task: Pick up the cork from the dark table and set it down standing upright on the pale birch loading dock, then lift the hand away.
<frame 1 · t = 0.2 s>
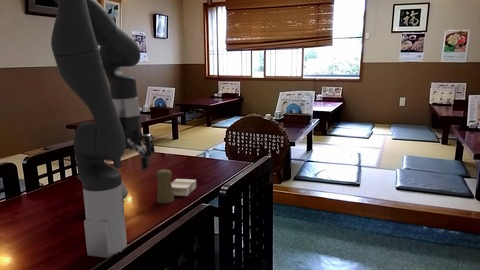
hand: (131, 168, 106), 17 cm above the table, tool pointing down, fingers open, 8 cm apart
loading dock: (181, 190, 137), on the table
cork: (165, 200, 128), on the table
coffee pot: (103, 207, 123), on the table
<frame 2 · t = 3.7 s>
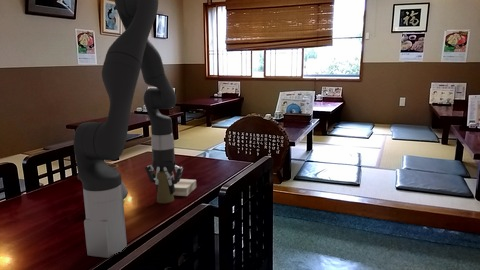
hand: (165, 194, 128), 2 cm above the table, tool pointing down, fingers closed on cork, 3 cm apart
cork: (165, 200, 128), on the table, touching gripper
everything else where it was.
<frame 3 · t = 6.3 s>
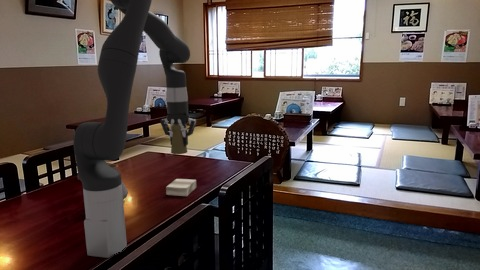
hand: (179, 146, 134), 17 cm above the table, tool pointing down, fingers closed on cork, 3 cm apart
cork: (179, 152, 135), point 15 cm above the table, touching gripper
everything else where it was.
when the fingers open (7 cm above the table, at t = 8.9 s): cork drops 1 cm, resting on loading dock.
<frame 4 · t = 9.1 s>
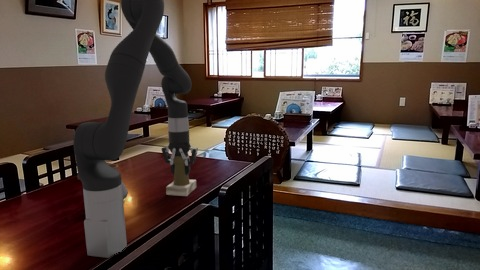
hand: (180, 174, 136), 7 cm above the table, tool pointing down, fingers open, 4 cm apart
cork: (181, 183, 137), point 3 cm above the table, touching gripper, loading dock
everything else where it was.
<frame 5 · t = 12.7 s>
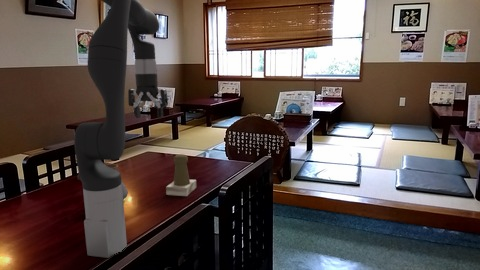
hand: (149, 118, 132), 28 cm above the table, tool pointing down, fingers open, 8 cm apart
cork: (181, 183, 137), point 3 cm above the table, touching loading dock
everything else where it was.
at the end: cork inside the target area on the loading dock (0.1 cm from its centre), point 2.8 cm above the loading dock's base; cork tilted 0°; the gripper is holding nothing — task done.
